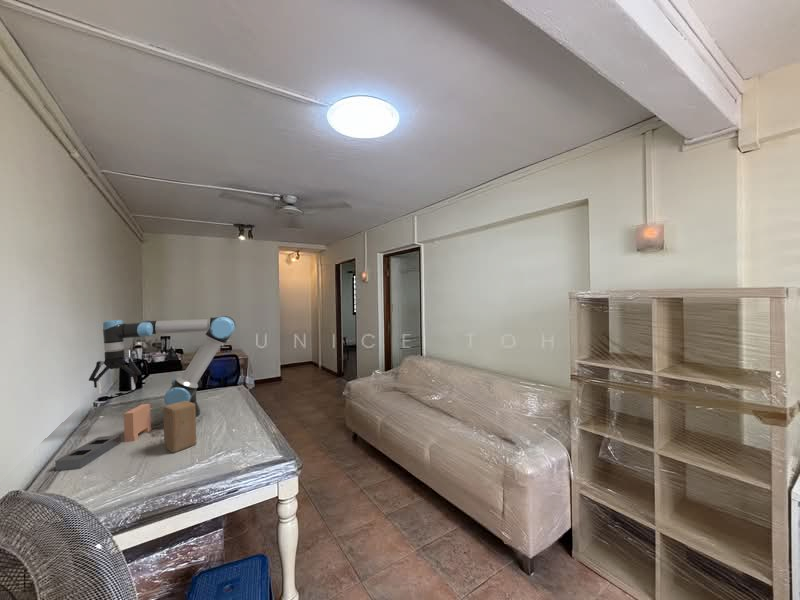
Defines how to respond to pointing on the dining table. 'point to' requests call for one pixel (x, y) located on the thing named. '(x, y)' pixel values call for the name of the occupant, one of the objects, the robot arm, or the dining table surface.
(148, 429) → the orange upright block
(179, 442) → the wooden block
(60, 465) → the gray slotted base
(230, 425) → the dining table surface
